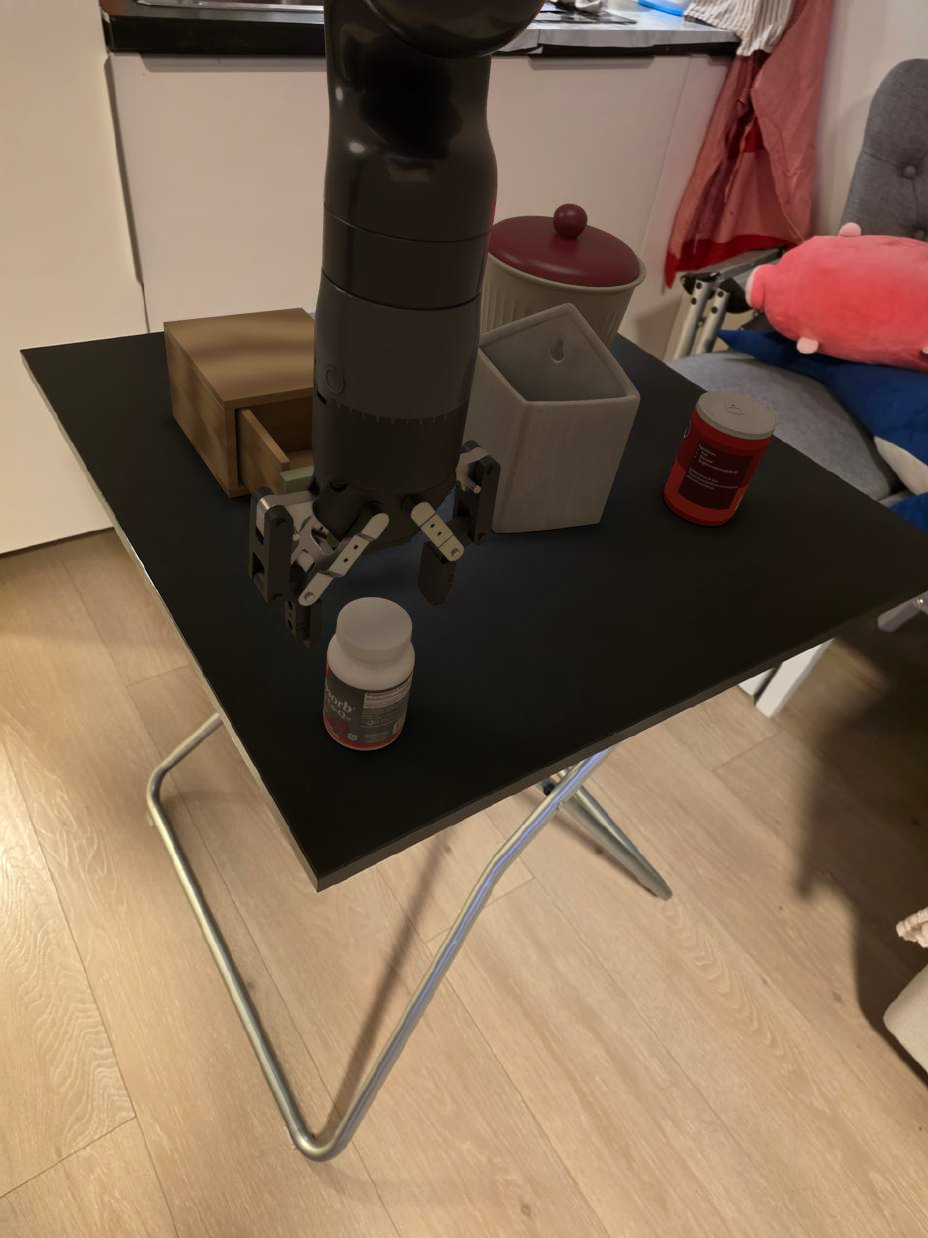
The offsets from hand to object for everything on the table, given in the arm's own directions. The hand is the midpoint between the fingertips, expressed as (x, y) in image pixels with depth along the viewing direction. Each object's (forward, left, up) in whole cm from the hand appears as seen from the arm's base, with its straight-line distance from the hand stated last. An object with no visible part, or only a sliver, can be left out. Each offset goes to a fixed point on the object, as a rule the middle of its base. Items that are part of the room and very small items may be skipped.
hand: (370, 616), depth 49 cm
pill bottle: (0, 0, -11) cm, 11 cm away
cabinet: (-23, +28, -11) cm, 38 cm away
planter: (+2, +30, -11) cm, 32 cm away
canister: (-3, +54, -11) cm, 55 cm away
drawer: (-12, +20, -10) cm, 25 cm away
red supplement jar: (+19, +42, -11) cm, 47 cm away
